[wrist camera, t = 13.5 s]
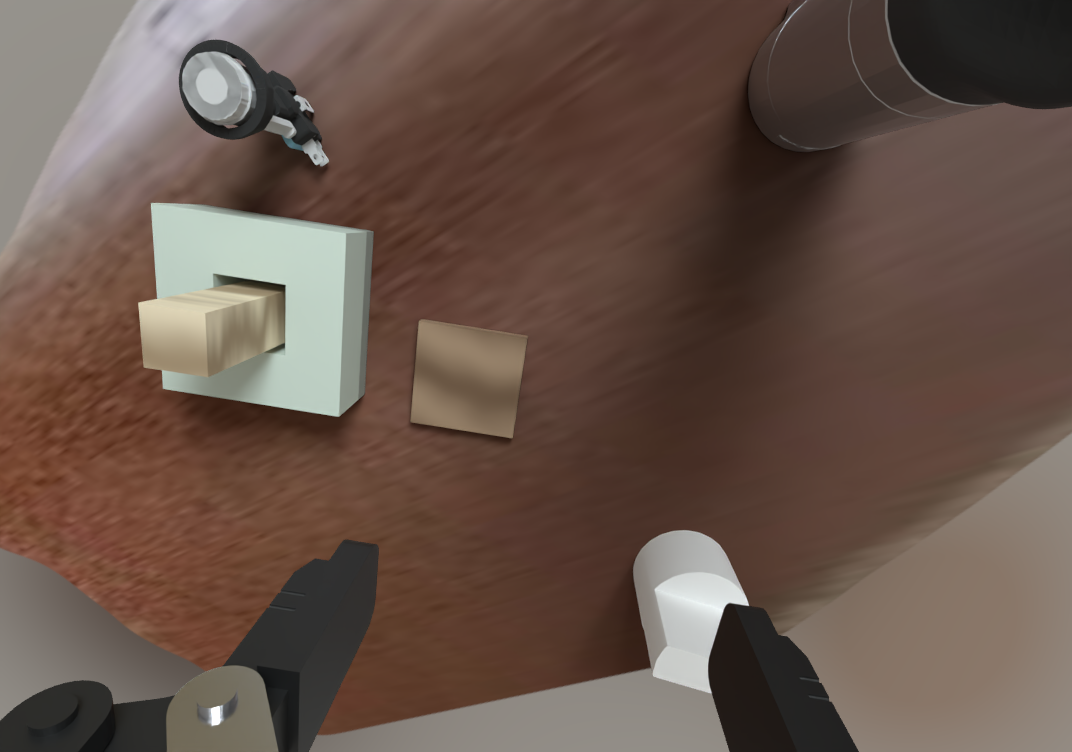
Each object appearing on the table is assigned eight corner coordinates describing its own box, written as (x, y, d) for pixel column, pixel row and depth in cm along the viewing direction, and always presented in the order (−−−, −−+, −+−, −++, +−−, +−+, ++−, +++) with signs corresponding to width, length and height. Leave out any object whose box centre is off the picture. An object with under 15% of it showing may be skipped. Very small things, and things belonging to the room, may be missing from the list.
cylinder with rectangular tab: (619, 595, 51) (635, 705, 40) (652, 518, 49) (679, 612, 37) (707, 621, 51) (747, 737, 40) (744, 546, 49) (799, 647, 37)
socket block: (202, 204, 42) (151, 202, 37) (373, 231, 42) (346, 233, 37) (208, 369, 47) (163, 388, 41) (364, 394, 46) (338, 416, 41)
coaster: (422, 319, 44) (418, 321, 43) (527, 335, 44) (527, 338, 43) (413, 417, 47) (410, 421, 46) (513, 433, 47) (512, 438, 46)
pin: (253, 279, 42) (138, 302, 31) (302, 286, 42) (205, 313, 31) (254, 327, 44) (143, 367, 32) (302, 334, 44) (208, 377, 32)
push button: (354, 146, 41) (289, 124, 31) (301, 184, 42) (222, 174, 32) (301, 62, 39) (216, 13, 30) (247, 104, 40) (148, 69, 31)
